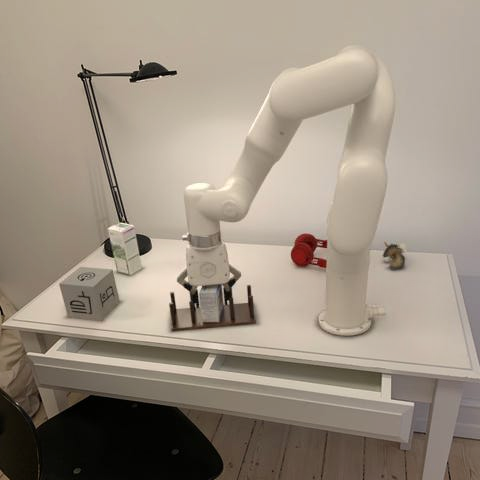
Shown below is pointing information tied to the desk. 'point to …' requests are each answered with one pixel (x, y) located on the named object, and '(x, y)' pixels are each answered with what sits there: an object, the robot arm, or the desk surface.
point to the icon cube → (89, 293)
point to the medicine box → (211, 302)
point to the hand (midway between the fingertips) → (211, 303)
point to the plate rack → (229, 317)
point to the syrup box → (125, 248)
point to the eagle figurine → (395, 255)
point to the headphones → (307, 251)
